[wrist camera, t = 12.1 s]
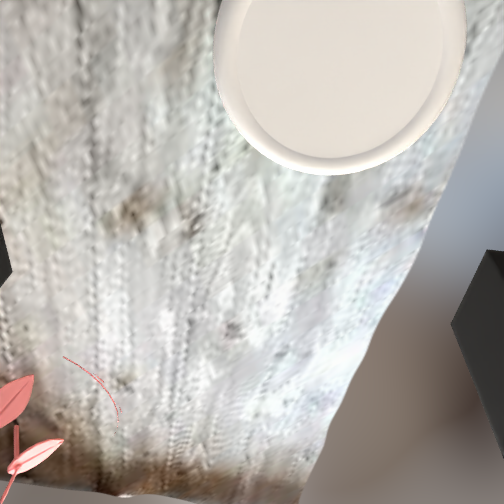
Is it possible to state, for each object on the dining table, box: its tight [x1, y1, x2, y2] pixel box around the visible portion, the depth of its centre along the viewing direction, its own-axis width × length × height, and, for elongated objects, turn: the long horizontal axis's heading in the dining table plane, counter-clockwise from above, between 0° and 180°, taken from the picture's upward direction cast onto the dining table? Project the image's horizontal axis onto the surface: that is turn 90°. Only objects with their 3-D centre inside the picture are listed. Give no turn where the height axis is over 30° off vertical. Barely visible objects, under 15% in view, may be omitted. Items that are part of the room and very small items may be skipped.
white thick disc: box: [213, 0, 467, 175], centre depth 20 cm, size 10×10×4 cm
